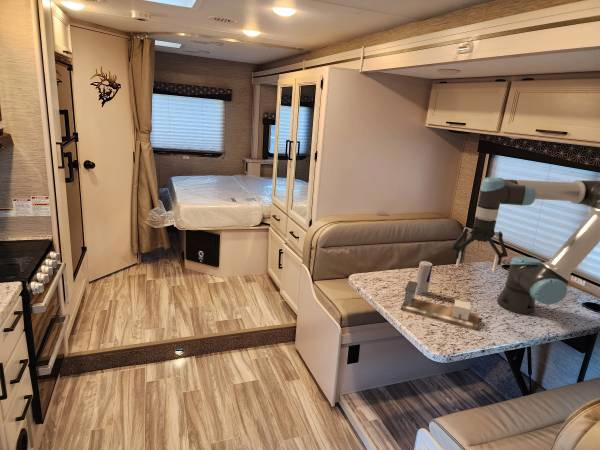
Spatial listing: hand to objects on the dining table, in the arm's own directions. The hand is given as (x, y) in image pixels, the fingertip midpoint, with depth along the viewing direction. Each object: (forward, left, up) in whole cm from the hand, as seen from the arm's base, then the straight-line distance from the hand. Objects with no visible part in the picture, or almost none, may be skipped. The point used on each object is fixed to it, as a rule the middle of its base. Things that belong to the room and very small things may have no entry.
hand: (475, 269), depth 158 cm
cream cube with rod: (+2, +4, -20) cm, 21 cm away
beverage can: (+20, -13, -22) cm, 32 cm away
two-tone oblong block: (+23, +2, -20) cm, 31 cm away
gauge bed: (+10, +3, -22) cm, 24 cm away
